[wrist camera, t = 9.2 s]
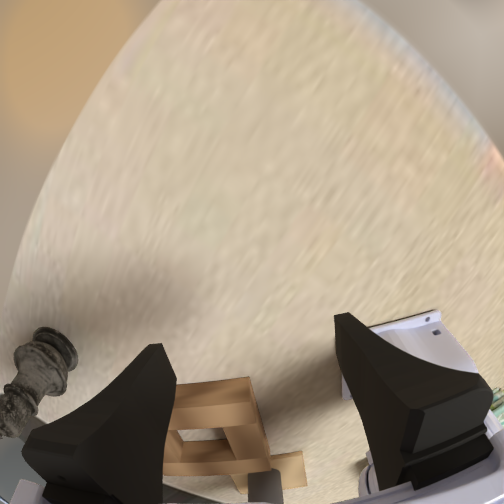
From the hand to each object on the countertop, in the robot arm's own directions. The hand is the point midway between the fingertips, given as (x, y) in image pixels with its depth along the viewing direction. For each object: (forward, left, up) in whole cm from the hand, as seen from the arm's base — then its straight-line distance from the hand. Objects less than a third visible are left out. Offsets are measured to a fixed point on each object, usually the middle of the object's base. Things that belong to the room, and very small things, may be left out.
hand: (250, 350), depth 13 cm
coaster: (+3, +29, -10) cm, 31 cm away
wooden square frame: (+8, +17, -10) cm, 21 cm away
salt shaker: (+20, +6, -11) cm, 23 cm away
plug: (+3, +28, -10) cm, 30 cm away
